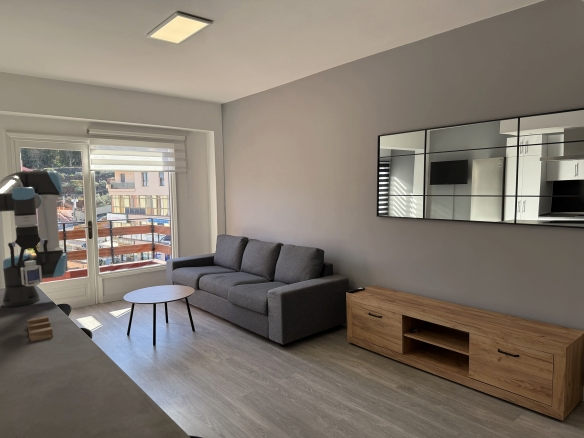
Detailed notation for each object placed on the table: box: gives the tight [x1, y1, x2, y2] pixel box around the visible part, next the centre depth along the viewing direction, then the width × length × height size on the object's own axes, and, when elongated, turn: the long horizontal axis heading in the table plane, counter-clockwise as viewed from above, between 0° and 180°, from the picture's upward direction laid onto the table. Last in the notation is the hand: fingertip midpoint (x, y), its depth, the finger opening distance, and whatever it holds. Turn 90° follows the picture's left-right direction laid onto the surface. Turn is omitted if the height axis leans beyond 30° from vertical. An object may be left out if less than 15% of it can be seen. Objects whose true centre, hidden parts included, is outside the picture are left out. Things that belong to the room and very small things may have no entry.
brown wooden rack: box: [27, 315, 54, 343], centre depth 154 cm, size 20×7×3 cm, turn 35°
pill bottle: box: [23, 260, 41, 287], centre depth 163 cm, size 5×5×10 cm
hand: (32, 282), depth 164 cm, fingers closed on pill bottle, 5 cm apart
